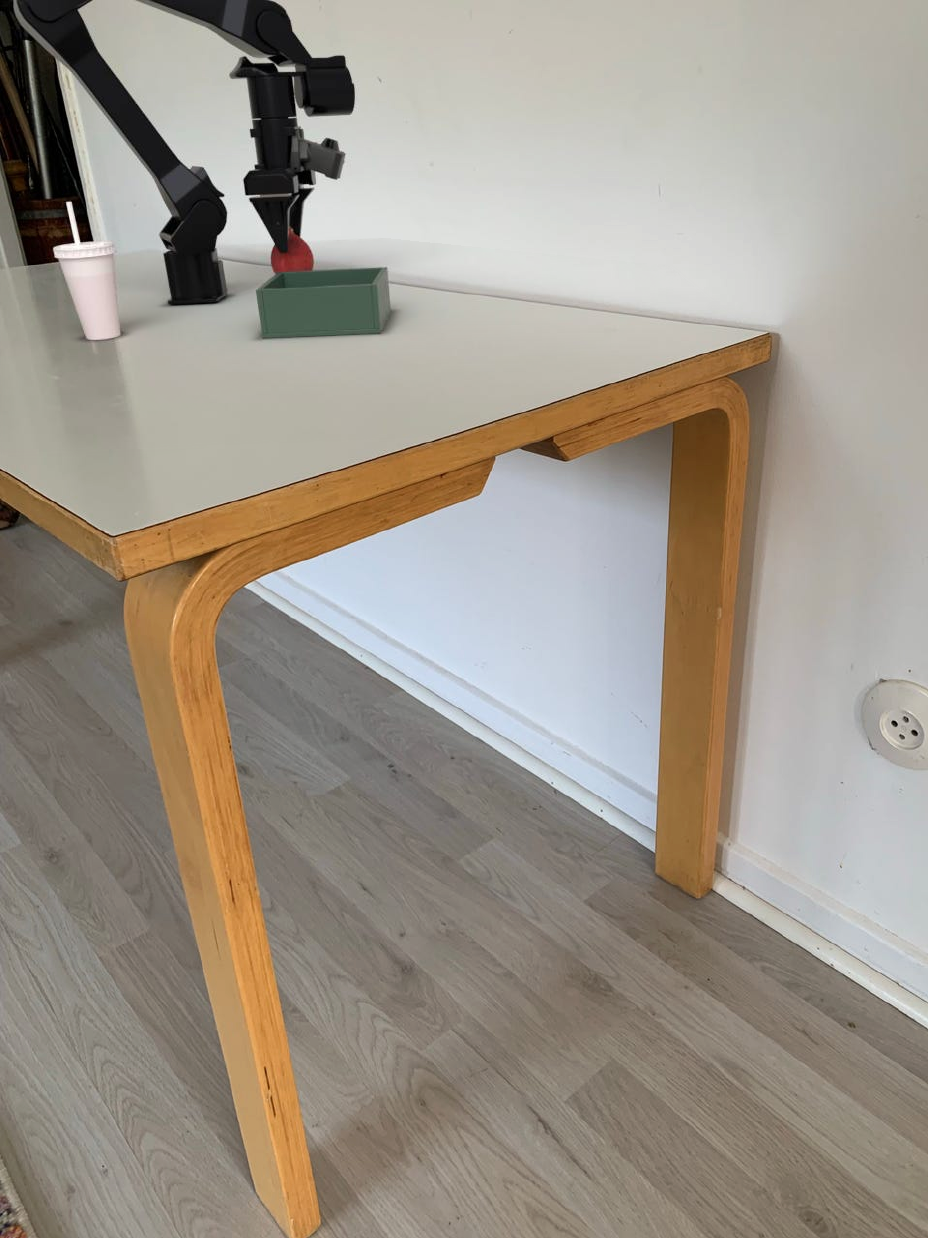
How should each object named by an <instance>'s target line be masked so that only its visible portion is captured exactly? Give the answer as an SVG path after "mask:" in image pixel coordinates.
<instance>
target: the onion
mask: <svg viewBox="0 0 928 1238" xmlns="http://www.w3.org/2000/svg"><path fill="white" fill-rule="evenodd" d="M270 265H271V269H272V272H273V273H274V275H276V274H277V273H278V272H289V271H311V270H314V265H315V259H314V254H313V252H312V249H311V247H310V246H309V244H308V243H307V242H306V241H305V240H304V239H303V238H302V237H299V236H297V235H295V234H294V233H293V229H292V228H291V227H289V244H288V252H287V253H279V251H278V249H277V247H276V245H275V244H273V246H272V249H271V252H270Z"/></svg>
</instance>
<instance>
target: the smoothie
mask: <svg viewBox="0 0 928 1238" xmlns="http://www.w3.org/2000/svg"><path fill="white" fill-rule="evenodd" d="M65 204H66V208H67V213H68V217H69V222H70V226H71V231H72V237H73V241H74V242H73V243H65V244H60V245H56V246H54V247H53V249H52V251H53V254H54V258H55V259H57V260H58V262H59V266H60V268H61V271H62V273H63V276H64V279H65V282H66V285H67V288H68V291H69V293H70V296H71V299H72V302H73V305H74V307H75V310H76V314H77V316H78V319H79V321H80V324H81V328H82V330H83V332H84V335H85V339H86V340H90V341H100V340H101V341H102V340H109V339H114V338H117V337H120V336H121V335H122V334H121V324H120V311H119V302H118V301H119V300H118V290H117V289H118V287H117V280H116V279H117V277H116V265H115V255H114V254H116V253H117V250H116V246H115V242H112V241H106V240H105V241H86V242H85V241H83V242H81V239H80V234H79V230H78V226H77V221H76V216H75V212H74V206H73V203H72V201H66V202H65Z"/></svg>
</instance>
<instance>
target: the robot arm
mask: <svg viewBox="0 0 928 1238" xmlns="http://www.w3.org/2000/svg"><path fill="white" fill-rule="evenodd" d="M92 1H93V0H13V11H14V15H15V17H16V19H17V21H18V22H19V24H20V25H21V27H22V28H23V29H24V30H25V31H26V32H27V33H28V34H29V35H30V36H31V37H32V38H33V39H34V40H36V42H38V43H39V45H40V46H42V47H43V48H44V49H45V50H46V51H47V52H48V53H49V54H50V55H51V56H52V57H54V58H55V60H57V61H58V62H59V63H60V64H61V65H62V66H64V67H65V68H66V69H67V70H68V71H69V72H71V74H72V75H73V76H74V77H75V79H76V80H77V82H78V83H79V84H80V85H81V87H82V88H83V89H84V90H85V92H86V93H87V94H88V96H90V98H91V99H92V101H93V102H94V103H95V105H96V106H97V108H99V110H100V111H101V112H102V114H103V115H104V116H105V118H106V119H107V120H108V121H109V123H110V124H111V125H112V126H113V128H114V129H115V130H116V132H117V133H118V135H119V136H120V137H121V139H122V140H123V141H124V142H125V143H126V145H127V146H128V147H129V149H130V150H131V151H132V152H133V154H134V155H135V156H136V158H137V159H138V160H139V162H140V163H141V164H142V165H143V167H144V168H145V169H146V171H147V172H148V173H149V174H150V176H151V177H152V179H153V181H154V184H155V185H156V188H157V189H158V192H159V194H160V196H161V198H162V200H163V202H164V204H165V206H166V207H167V209H168V211H169V213H170V215H171V216H170V218H169V219H168V220H167V222H166V224H164V226H163V228H162V229H161V230H160V232H159V233H158V236H159V238H160V240H161V242H162V244H163V246H164V247H165V249H166V250H167V251H165V252H163V255H162V256H163V259H164V266H165V271H166V276H167V282H168V288H169V293H170V298H169V299H168V300H167V305H182V304H183V305H184V304H186V305H187V304H204V303H206V304H207V303H208V304H209V303H217V302H219V301H220V300H222V299H223V298H224V297H226V296H227V295H228V287H227V279H226V275H225V267H224V261H223V260H222V259H219V256H218V249H217V247H216V245H217V240H218V236H219V235H221V233H223V231H224V230H225V228H226V225H227V223H228V210H227V207H226V205H225V202H223V200H222V198H225V194H224V193H223V192H222V191H220V190H219V189H218V188H217V187H216V186H215V185H214V183H213V182H212V180H211V178H210V176H209V174H208V172H207V170H206V169H205V167H203V166H197V165H192V166H191V167H190V168H189V167H188V166H186V165H185V164H184V163H183V161H181V160H180V159H179V158H178V157H177V155H176V154H175V152H174V151H173V150H172V149H171V147H170V146H169V145H168V143H167V141H165V139H164V138H163V136H162V135H161V133H159V130H158V129H157V128H156V127H155V126H154V125H153V123H152V122H151V120H150V119H149V118H148V116H147V115H146V114H145V112H144V111H143V109H142V107H140V105H139V104H138V103H137V102H136V100H135V98H134V97H133V96H132V95H131V93H130V92H129V90H128V89H127V88H126V87H125V85H124V84H123V82H121V80H120V79H119V77H118V76H117V75H116V74H115V72H114V71H113V69H112V68H111V67H110V65H109V64H108V63H107V61H106V60H105V59H104V57H103V56H102V55H101V53H100V52H99V50H98V49H97V46H96V44H95V42H94V40H93V38H92V36H91V34H90V31H89V29H88V27H87V25H86V23H85V21H84V18H83V17H82V15H81V13H80V11H79V10H80V9H82V8H83V7H85V6H86V5H88V4H89V3H91V2H92ZM135 1H137V2H139V3H142V4H143V5H146V6H149V7H151V8H155V9H157V10H159V11H162V12H165V13H167V14H170V15H172V16H175V17H178V18H181V19H183V20H186V21H188V22H191V23H193V24H196V25H199V26H201V27H204V28H206V29H208V30H210V31H211V32H212V33H214V34H216V35H217V36H219V37H220V38H221V39H223V40H224V41H225V42H227V43H228V44H230V45H232V46H233V47H235V48H237V49H238V50H240V51H241V52H243V53H245V54H247V55H248V56H250V57H252V58H255V59H261V60H262V59H267V60H268V61H270V62H252V61H251V60H250V59H249V58H248V56H246V55H243V56H240V57H239V58H238V61H237V64H236V65H235V67H234V68H233V69H232V70H231V71H230V72H229V74H228V75H229V77H230V79H231V80H246V84H247V93H248V99H249V108H250V115H251V124H252V128H249V133H250V134H249V135H250V138H251V139H254V146H255V153H256V163H257V164H254V169H251V170H248V172H247V173H246V175H245V176H244V177H243V180H242V181H243V182H242V183H243V189H244V194H245V195H244V196H249V197H248V201H249V203H250V204H251V205H252V207H253V208H254V210H255V212H256V214H258V216H259V218H260V220H261V222H262V223H263V226H264V227H265V229H266V231H267V232H268V234H269V236H270V238H271V240H272V242H273V245H276V247H277V249H278V251H279V253H287V252H288V244H289V227H291V228H292V229H293V233H294V234H295V235H297V236H299V237H300V238H302V237H301V235H302V228H303V227H302V226H303V216H304V215H303V214H304V207H305V206H304V205H305V203H306V202H305V201H306V200H307V199H308V198H309V197H310V195H311V194H313V192H314V190H315V187H305V186H306V185H308V186H315V185H317V178H316V173H319V174H322V175H324V176H325V177H326V178H328V179H330V180H331V179H332V180H335V181H338V179H341V176H342V170H343V167H344V164H345V159H346V153H345V151H342V150H341V151H340V146H339V141H338V140H336V139H333V138H329V137H325V138H324V139H323V140H322V141H321V143H318V142H316V141H311V140H309V139H305V133H304V129H303V128H302V126H299V123H298V116H297V115H298V114H297V108H299V109H300V110H302V109H303V111H304V113H305V115H306V116H307V117H309V118H314V117H316V118H317V117H335V116H336V117H337V116H338V117H339V116H351V115H352V114H353V112H354V109H355V104H356V90H355V89H356V88H355V83H353V79H352V75H351V72H350V70H349V68H348V66H347V60H346V56H345V55H343V54H342V55H341V54H340V55H338V54H337V55H332V56H328V57H312V55H311V54H310V53H309V51H308V50H307V48H306V47H305V45H304V44H303V43H302V42H301V40H300V39H299V37H298V36H297V34H296V33H295V32H294V31H293V25H292V20H291V18H290V16H289V14H288V12H287V10H286V9H285V8H284V6H282V5H281V4H279V2H278V3H277V2H276V1H273V0H135ZM278 67H279V68H294V69H295V70H294V71H279V69H278ZM296 105H297V106H296Z"/></svg>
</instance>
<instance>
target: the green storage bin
mask: <svg viewBox="0 0 928 1238" xmlns="http://www.w3.org/2000/svg"><path fill="white" fill-rule="evenodd" d="M255 293H256V301H257V308H258V309H257V310H258V316H259V322H260V328H261V329H260V330H261V336H262V339H275V338H278V339H280V338H299V337H302V338H303V337H324V336H348V335H349V336H350V335H370V334H371V335H372V334H381V333H382V331H383V329H384V327H385V324H386V323H387V321H388V318H389V316H390V314H391V311H392V309H391V296H390V284H389V271H388V267H387V266H382V267H381V266H380V267H360V268H359V267H358V268H336V269H333V268H332V269H316V270H315V269H313V270H311V271H289V272H278V273H277V274H274V275H273V276H272V277H271V278H269V279H268V280H267V281H265V282H264V283H263V284H262V285H260V286H259V287H257V289H255Z"/></svg>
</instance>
